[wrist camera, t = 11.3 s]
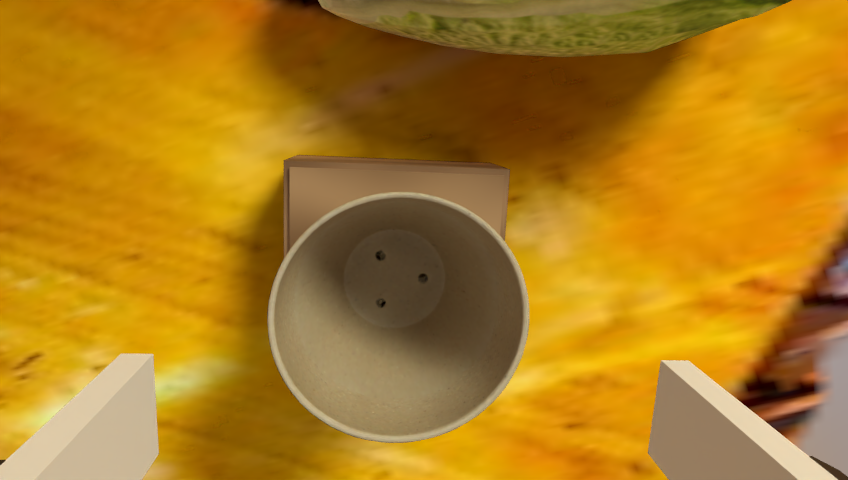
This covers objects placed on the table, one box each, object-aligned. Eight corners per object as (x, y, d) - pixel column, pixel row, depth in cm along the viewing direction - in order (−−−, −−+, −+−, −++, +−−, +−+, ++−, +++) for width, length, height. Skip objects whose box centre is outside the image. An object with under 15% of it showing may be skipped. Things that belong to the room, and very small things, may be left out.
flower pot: (508, 344, 30) (548, 411, 23) (320, 387, 30) (303, 468, 23) (473, 156, 28) (506, 166, 21) (271, 199, 28) (235, 224, 21)
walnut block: (297, 154, 32) (283, 160, 27) (490, 162, 33) (510, 169, 28) (297, 339, 35) (283, 377, 29) (478, 342, 35) (495, 378, 30)
